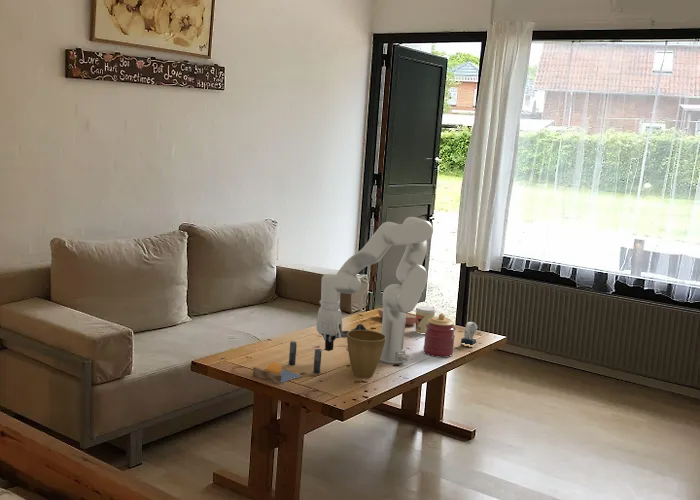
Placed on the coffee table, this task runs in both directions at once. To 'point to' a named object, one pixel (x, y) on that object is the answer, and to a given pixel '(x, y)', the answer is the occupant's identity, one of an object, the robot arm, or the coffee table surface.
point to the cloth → (359, 327)
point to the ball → (274, 368)
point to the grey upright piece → (469, 333)
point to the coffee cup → (423, 317)
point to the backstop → (267, 375)
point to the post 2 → (317, 361)
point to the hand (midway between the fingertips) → (329, 350)
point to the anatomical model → (409, 317)
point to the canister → (439, 336)
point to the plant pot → (365, 351)
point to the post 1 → (292, 353)
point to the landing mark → (288, 375)
